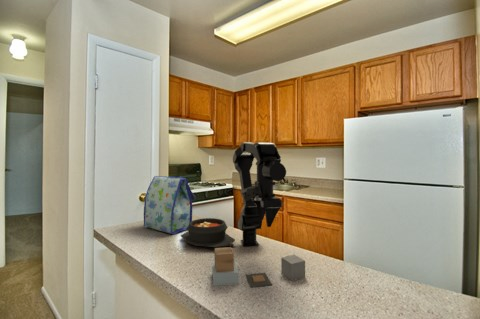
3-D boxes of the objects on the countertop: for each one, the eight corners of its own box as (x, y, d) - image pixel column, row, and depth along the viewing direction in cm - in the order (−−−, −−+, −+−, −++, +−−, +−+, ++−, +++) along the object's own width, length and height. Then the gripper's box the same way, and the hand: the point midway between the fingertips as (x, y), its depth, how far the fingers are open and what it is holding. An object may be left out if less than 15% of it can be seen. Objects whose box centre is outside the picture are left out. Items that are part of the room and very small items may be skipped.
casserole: (244, 242, 102) (244, 222, 102) (212, 256, 88) (212, 233, 88) (203, 231, 118) (203, 214, 118) (170, 241, 103) (170, 222, 103)
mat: (245, 275, 74) (245, 273, 74) (265, 273, 75) (265, 271, 75) (251, 287, 67) (251, 285, 67) (272, 285, 68) (272, 283, 68)
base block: (212, 274, 75) (212, 263, 75) (234, 273, 76) (234, 261, 76) (213, 286, 68) (213, 274, 68) (238, 284, 69) (238, 272, 69)
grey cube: (281, 273, 75) (281, 257, 75) (294, 270, 77) (294, 254, 77) (291, 281, 70) (291, 263, 70) (305, 277, 73) (305, 260, 73)
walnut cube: (214, 264, 74) (214, 248, 74) (231, 263, 75) (231, 247, 75) (216, 272, 69) (216, 254, 69) (233, 270, 70) (233, 253, 70)
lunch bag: (196, 227, 124) (196, 176, 124) (171, 236, 110) (171, 178, 110) (166, 221, 136) (166, 174, 136) (140, 228, 122) (140, 176, 122)
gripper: (237, 176, 93) (237, 217, 93) (248, 181, 75) (248, 232, 75) (265, 176, 95) (265, 216, 95) (282, 180, 77) (282, 230, 77)
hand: (265, 223), depth 86 cm, fingers open, 9 cm apart
